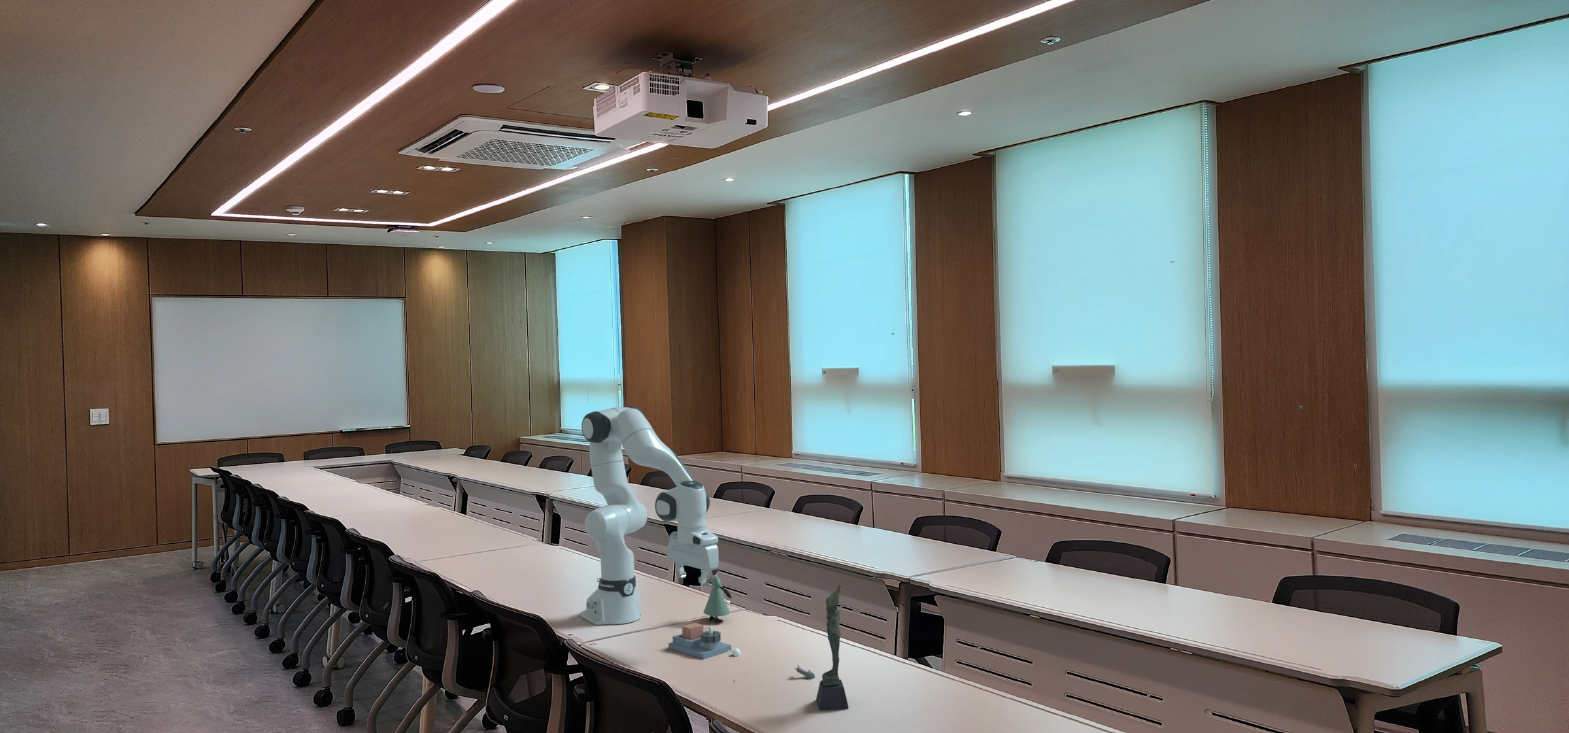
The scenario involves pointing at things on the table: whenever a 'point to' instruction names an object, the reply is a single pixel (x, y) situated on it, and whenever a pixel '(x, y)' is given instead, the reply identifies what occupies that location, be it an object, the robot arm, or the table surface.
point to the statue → (830, 685)
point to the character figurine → (716, 598)
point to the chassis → (698, 646)
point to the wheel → (710, 637)
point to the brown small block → (692, 631)
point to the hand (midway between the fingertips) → (692, 580)
